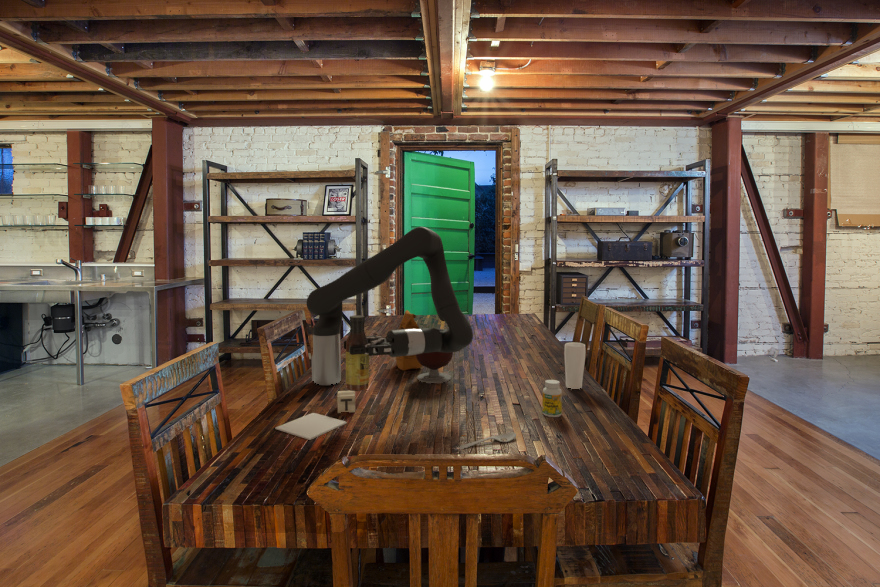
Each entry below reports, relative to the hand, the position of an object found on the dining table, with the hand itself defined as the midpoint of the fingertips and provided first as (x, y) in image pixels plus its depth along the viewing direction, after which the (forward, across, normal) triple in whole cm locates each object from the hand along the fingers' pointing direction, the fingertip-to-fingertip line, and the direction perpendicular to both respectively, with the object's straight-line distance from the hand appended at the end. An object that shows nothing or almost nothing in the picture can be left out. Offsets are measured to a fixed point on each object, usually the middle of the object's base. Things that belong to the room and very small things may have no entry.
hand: (346, 347), depth 125 cm
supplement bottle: (-54, +18, +21) cm, 61 cm away
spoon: (-26, +27, +21) cm, 43 cm away
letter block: (-2, -10, +21) cm, 23 cm away
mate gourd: (-39, -28, +21) cm, 52 cm away
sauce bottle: (-3, 0, +12) cm, 12 cm away
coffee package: (-36, -48, +22) cm, 63 cm away
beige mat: (+9, -2, +21) cm, 23 cm away
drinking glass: (-77, +1, +21) cm, 80 cm away
